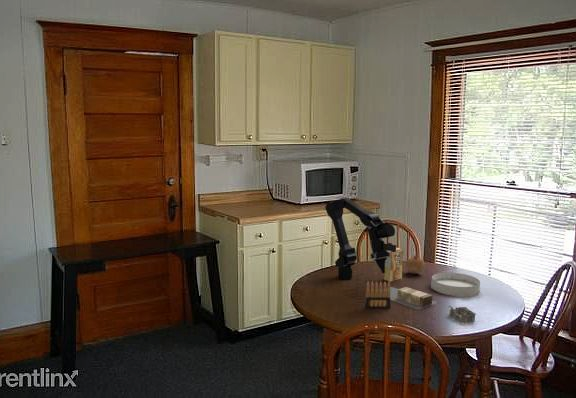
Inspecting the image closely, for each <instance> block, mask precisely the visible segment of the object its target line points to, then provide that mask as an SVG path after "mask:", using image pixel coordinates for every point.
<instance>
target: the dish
mask: <svg viewBox="0 0 576 398" xmlns="http://www.w3.org/2000/svg"><path fill="white" fill-rule="evenodd" d="M480 281H481V280H480V279H478V278H477V277H474V275H473V276H472V275H469V274H465V273H459V272H439V273H435V274H433V275H432V276H431V282H430V288H431V290H433V291H436V292H437V293H441V294H443V295H448V296H453V297H456V298H471V297H475V296H478V295H479V294H480V293H481V282H480Z"/></svg>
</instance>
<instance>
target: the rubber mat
mask: <svg viewBox="0 0 576 398" xmlns="http://www.w3.org/2000/svg"><path fill="white" fill-rule="evenodd" d="M398 289H399V288H396V287H394V286H390V291H391V293H390V301H393V302H395V303H397V304H401V305H404V306H406V307H409V308H412V309H415V310H417V311H419V310H421V309H424V308H427V307H430V306H433V305H435V304H438V302H437V301H435V300H432V304H431V305H428V306H426V307H421V306H418V305H415V304H412V303H410V302H407V301H404V300H401V299H398V298H397V294H398ZM382 293H383V289H382ZM386 295H387V287H386Z"/></svg>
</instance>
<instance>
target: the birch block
mask: <svg viewBox="0 0 576 398" xmlns="http://www.w3.org/2000/svg"><path fill="white" fill-rule="evenodd" d="M397 289H398V294H397V298H398V299H401V300H404V301H407V302H410V303H412V304H415V305H418V306H421V307H425V308H427V307H429V306H428V305H430V306H432V305H431V304H432V301H433V294H429V293H427V292H423V291H420V290H417V289H414V288H411V287H408V286H405V287H402V288H397ZM426 306H427V307H426Z"/></svg>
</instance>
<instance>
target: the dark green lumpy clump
mask: <svg viewBox="0 0 576 398" xmlns="http://www.w3.org/2000/svg"><path fill="white" fill-rule="evenodd" d="M448 307H449V308H450V310H449V317H453V318H454V319H455V320H458V322H459V323H463V324H467V322H469V323H475V321H476V315H477V313H475V312H473V310H470V309H468V307H467V306H455V308H454V307H453V306H451V305H448Z"/></svg>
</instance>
